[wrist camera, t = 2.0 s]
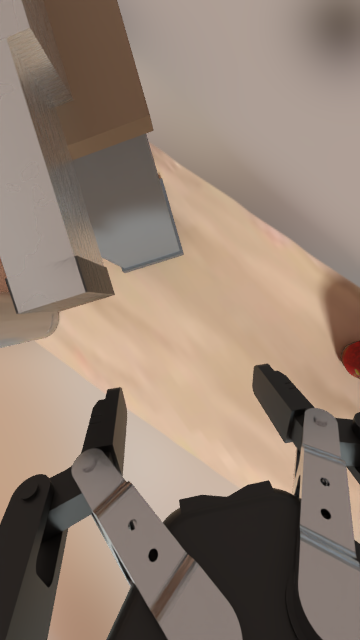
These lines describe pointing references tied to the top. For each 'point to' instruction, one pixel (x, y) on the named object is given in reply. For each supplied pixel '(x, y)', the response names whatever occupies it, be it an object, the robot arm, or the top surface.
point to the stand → (111, 135)
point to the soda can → (352, 359)
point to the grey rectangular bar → (40, 174)
